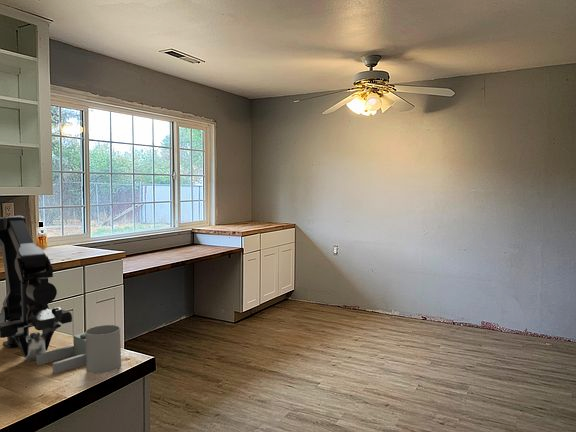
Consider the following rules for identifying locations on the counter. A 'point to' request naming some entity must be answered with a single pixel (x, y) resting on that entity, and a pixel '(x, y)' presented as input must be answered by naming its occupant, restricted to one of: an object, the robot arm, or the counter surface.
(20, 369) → the counter surface
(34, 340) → the bottle
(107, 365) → the cup
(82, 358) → the grey u-shaped bracket
